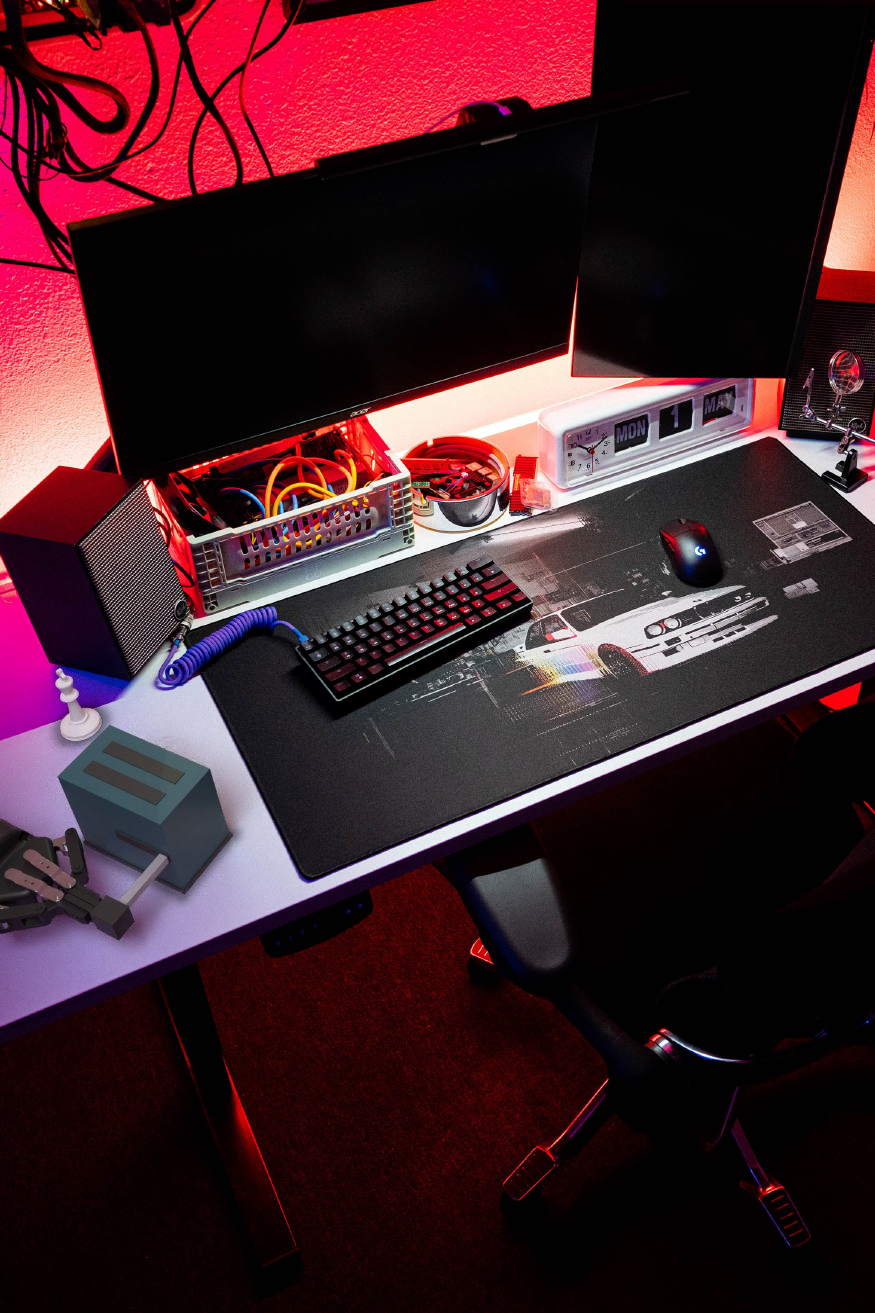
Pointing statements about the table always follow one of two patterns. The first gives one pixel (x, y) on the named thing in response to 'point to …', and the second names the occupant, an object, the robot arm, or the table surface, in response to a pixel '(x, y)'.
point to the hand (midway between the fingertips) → (99, 913)
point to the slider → (125, 903)
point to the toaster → (146, 806)
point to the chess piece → (76, 712)
